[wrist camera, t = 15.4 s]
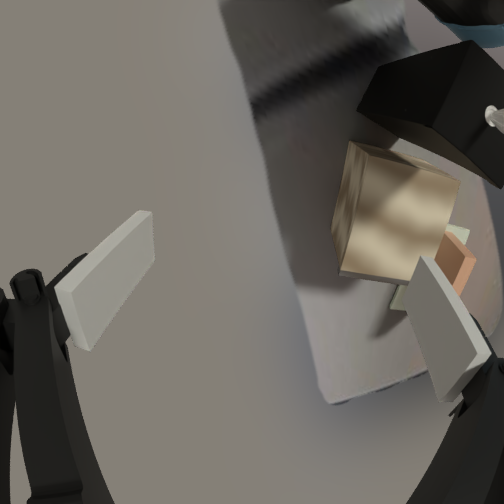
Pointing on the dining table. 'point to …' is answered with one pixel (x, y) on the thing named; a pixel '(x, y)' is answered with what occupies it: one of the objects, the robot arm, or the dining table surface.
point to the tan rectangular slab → (454, 261)
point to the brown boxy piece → (389, 213)
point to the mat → (397, 299)
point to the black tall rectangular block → (445, 106)
